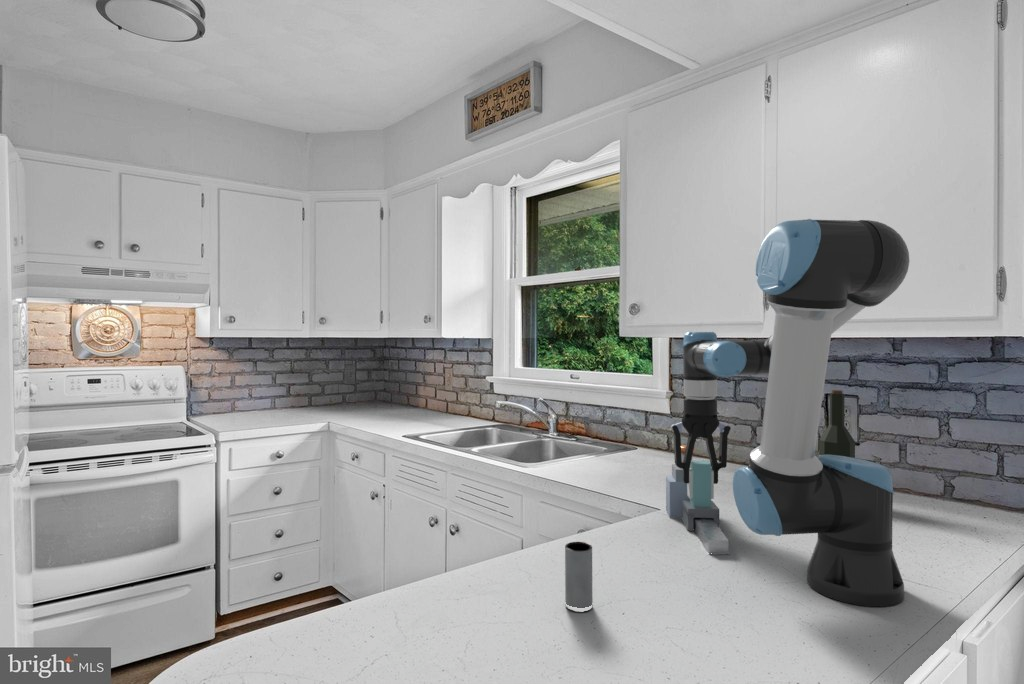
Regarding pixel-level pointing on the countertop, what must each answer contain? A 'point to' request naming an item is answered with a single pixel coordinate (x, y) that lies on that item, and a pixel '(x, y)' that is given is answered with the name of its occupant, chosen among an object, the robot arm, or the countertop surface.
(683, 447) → the plunger
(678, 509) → the blue-grey stepped block
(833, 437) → the wine bottle
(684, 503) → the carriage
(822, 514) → the robot arm
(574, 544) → the gray cylinder
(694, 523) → the rail
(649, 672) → the countertop surface
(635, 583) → the countertop surface
